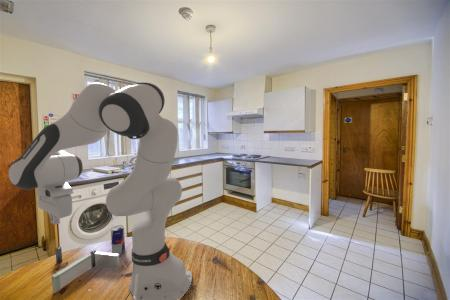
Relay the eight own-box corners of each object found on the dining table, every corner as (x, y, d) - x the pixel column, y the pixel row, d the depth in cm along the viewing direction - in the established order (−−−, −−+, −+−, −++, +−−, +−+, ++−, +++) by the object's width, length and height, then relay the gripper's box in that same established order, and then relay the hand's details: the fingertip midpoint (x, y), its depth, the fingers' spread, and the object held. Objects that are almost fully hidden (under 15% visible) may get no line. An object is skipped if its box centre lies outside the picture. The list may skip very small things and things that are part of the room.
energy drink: (119, 256, 91) (118, 231, 90) (109, 255, 92) (108, 230, 91) (127, 249, 96) (126, 225, 95) (117, 248, 98) (116, 224, 96)
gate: (88, 266, 84) (88, 253, 83) (92, 267, 83) (91, 254, 83) (52, 290, 71) (51, 276, 71) (56, 291, 71) (55, 277, 70)
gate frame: (120, 267, 84) (119, 252, 84) (116, 270, 83) (116, 255, 82) (59, 260, 89) (58, 246, 88) (55, 263, 87) (54, 249, 86)
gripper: (30, 185, 78) (34, 220, 80) (53, 194, 68) (56, 233, 69) (51, 182, 84) (54, 214, 85) (74, 189, 73) (77, 226, 74)
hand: (55, 223), depth 77 cm, fingers closed
